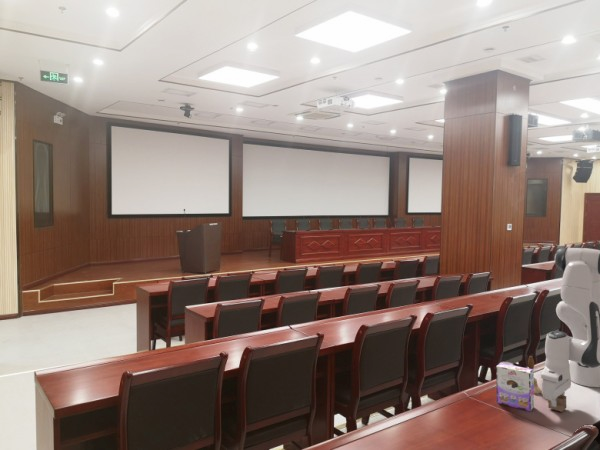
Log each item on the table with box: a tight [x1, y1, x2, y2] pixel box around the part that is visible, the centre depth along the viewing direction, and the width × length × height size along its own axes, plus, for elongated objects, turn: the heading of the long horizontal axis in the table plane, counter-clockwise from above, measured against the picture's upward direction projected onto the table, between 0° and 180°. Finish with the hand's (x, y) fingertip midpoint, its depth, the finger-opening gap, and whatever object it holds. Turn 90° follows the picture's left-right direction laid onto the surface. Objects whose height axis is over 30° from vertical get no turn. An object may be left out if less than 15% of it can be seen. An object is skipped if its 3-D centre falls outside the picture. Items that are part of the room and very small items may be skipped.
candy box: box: [495, 362, 535, 412], centre depth 186 cm, size 14×6×16 cm, turn 47°
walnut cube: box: [548, 394, 567, 413], centre depth 181 cm, size 5×5×5 cm
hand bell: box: [527, 355, 542, 395], centre depth 201 cm, size 8×8×16 cm
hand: (557, 403), depth 181 cm, fingers closed on walnut cube, 5 cm apart
